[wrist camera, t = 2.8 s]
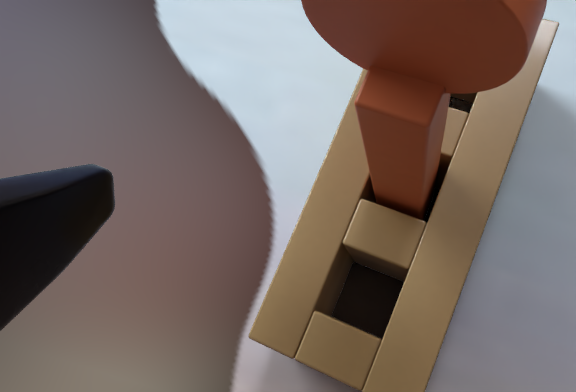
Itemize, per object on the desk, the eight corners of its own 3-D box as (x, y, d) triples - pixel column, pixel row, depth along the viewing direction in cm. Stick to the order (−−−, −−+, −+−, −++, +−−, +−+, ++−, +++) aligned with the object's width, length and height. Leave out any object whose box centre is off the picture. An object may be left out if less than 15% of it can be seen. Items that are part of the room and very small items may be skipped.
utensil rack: (277, 338, 20) (246, 337, 16) (400, 45, 22) (398, -15, 18) (414, 402, 19) (415, 417, 15) (532, 80, 21) (560, 21, 17)
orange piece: (450, 246, 20) (534, 47, 7) (350, 208, 21) (251, -24, 8) (467, 199, 20) (581, -79, 7) (368, 166, 21) (302, -128, 8)
